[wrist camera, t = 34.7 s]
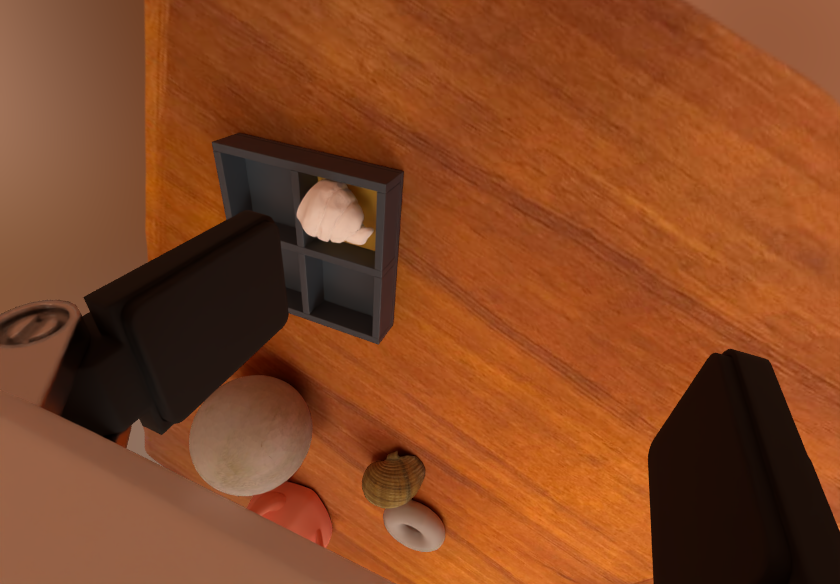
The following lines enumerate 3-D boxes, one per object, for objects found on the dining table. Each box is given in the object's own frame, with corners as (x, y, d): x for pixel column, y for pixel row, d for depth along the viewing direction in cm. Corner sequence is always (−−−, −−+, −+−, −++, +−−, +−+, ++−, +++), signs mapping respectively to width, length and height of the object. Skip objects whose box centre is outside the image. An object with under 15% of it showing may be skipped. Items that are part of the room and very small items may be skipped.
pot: (249, 484, 85) (201, 545, 76) (279, 457, 74) (227, 525, 65) (321, 541, 87) (283, 608, 77) (360, 523, 76) (322, 598, 66)
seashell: (413, 428, 62) (362, 441, 58) (438, 466, 57) (385, 484, 53) (398, 473, 67) (351, 488, 62) (421, 512, 62) (371, 532, 57)
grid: (239, 132, 41) (211, 141, 39) (403, 171, 37) (385, 184, 34) (261, 280, 52) (241, 296, 49) (393, 324, 47) (378, 344, 44)
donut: (387, 516, 71) (443, 544, 68) (377, 536, 68) (435, 566, 66) (391, 484, 65) (453, 513, 63) (381, 504, 63) (445, 536, 60)
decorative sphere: (349, 402, 58) (280, 502, 46) (311, 443, 68) (246, 534, 56) (260, 334, 57) (168, 417, 46) (235, 384, 67) (153, 464, 55)
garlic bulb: (370, 247, 42) (341, 274, 38) (320, 210, 42) (286, 233, 38) (393, 205, 38) (365, 229, 34) (339, 165, 38) (304, 185, 34)
